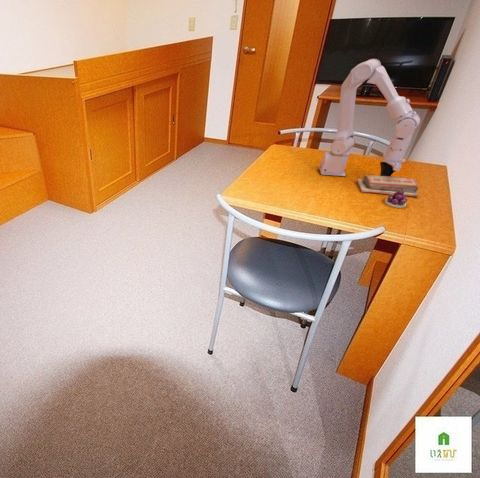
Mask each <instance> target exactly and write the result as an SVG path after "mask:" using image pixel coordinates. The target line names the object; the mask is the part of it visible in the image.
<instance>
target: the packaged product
mask: <svg viewBox="0 0 480 478" xmlns="http://www.w3.org/2000/svg"><path fill="white" fill-rule="evenodd" d="M356 183H357V185H358V187H359V189H360V191H361V193H373V194H383V195H389V196H390V195H394V193H395V192H397V191H399V190H401V189H402V187H404V188H403V191H404V197H415V198H416V197H418V196H419V194H418V190H419V185H418V182H417V181H416V179H415V178H413V177H402V176H380V175H375V174H365V175H364V176H363V178H357V181H356Z"/></svg>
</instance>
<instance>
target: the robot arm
mask: <svg viewBox="0 0 480 478" xmlns="http://www.w3.org/2000/svg"><path fill="white" fill-rule="evenodd" d="M365 82H366V83H367V84H373V85H376V86H377V88H378V90H379V91H380V93H381V94H382V95H383V97H384V98H385V100H386V101H387V104H386V106H385V108H386V110H387V111H388V113H389V115H390V116H391V118H392V120H393V121H394V123H396V124H395V126H394V127H395V128H394V129H395V132H394V134H393V135H392V137H391V139H390V142H389V144H388V146H387V149H386V151H384V152H383V154H382V156H381V157H382V159H381V160H382V161H380V163H379V164H380V165H379V166H380V173H379V176H390V177H392V175H393V174H395V172H399V171H401V169H402V163H405V162H406V159H405V158H404V156H405V154H406V152H407V150H408V148H409V145H410V143H411V141H412V139H413V135H414V134H415V130H416V129H417V127H419V125H420V123H421V118H420V115H419V114H418V113H417V112H416V110H413V108H412V106H411V104H410V102H411V100H410V98H406V97H405V96H402V95H401V96H400V95H399V94H398V92H397V90H396V88H395V86H394V83H393V82H392V80H391V78H390V76H389V74H388V73H387V70H386V68H385V66H383V65H382V63H381V61H380V60H379V59H377V58H370V59H368V60H366V61H363V62H360V63H358V64H357V65H355V66H354V67H353V68H352V69H350V73H349V74H348V75H347V76H346V78H345V79H344V81H343V83H342V84H341V87H340V95H339V96H340V97H339V98H340V99H339V106H338V107H339V108H338V119H337V131H336V133H335V135H334V137H333V142H332V144H331V145H330V151H325V152H324V153H323V154H322V157H321V160H320V164H319V167H318V169H319V173H320V175H322V176H335V177H346V176H347V174H346V172H345V169H346V167H347V164H348V161H349V158H350V156H351V149H352V148H353V147H354V146H355V145H356V138H355V137H354V133H355V131H354V129H353V126H354V117H355V106H356V98H357V90H358V88H359V87H360V86H361V85H362V84H363V83H365Z"/></svg>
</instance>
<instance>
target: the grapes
mask: <svg viewBox="0 0 480 478" xmlns="http://www.w3.org/2000/svg"><path fill="white" fill-rule="evenodd" d="M403 188H404V187H402V189H401V190H399V191H397V192H395V193H394V195H389V196H388V197H387V198H385V200H384V204H385V205H386V206H389V207H392V208H395V209H402V208H406V207H407V205H408V204H407V202H408V198H407V197H406V196H404V191H403Z"/></svg>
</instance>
